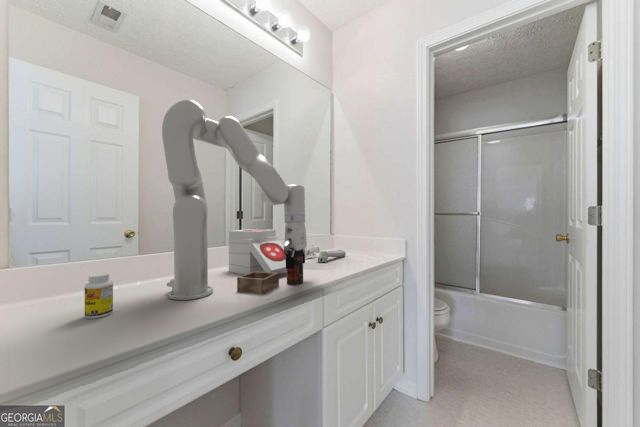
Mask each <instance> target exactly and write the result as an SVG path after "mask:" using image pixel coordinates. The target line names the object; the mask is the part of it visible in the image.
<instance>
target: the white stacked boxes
mask: <svg viewBox="0 0 640 427" xmlns="http://www.w3.org/2000/svg"><path fill="white" fill-rule="evenodd" d="M276 232H277V230H276V229H262V228H261V229H257V228H255V229H251V228H248V229H247V228H246V229H238V230H229V231H228V272H230V273H235V274H239V275H246V274H248V273H251V272H254V271H256V272H270V273H279V274H281V273H285V272H286V273H287V269H286V257H285V253H284V247H283V246H284V245H283V244H282V242H281V241H280V240H277V236H276V235H277V234H276Z"/></svg>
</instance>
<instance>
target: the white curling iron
mask: <svg viewBox="0 0 640 427" xmlns="http://www.w3.org/2000/svg"><path fill="white" fill-rule="evenodd" d="M343 257H346V251H345V250H342V249H338V250H330V251H329V250H328V251H327V250H326V251H325V250H319V253H318V256H317V257H316V258H317V262H318V263H323V262H324V263H328V259H329V258H343Z"/></svg>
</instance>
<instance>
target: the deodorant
mask: <svg viewBox="0 0 640 427" xmlns="http://www.w3.org/2000/svg"><path fill="white" fill-rule="evenodd" d="M302 243H303V242H302ZM291 244H292V243H291ZM292 249H293V248H292ZM291 253H292V252H291ZM293 257H295V268H294V269H287V271H286V285H288V286H301V285H303V284H304V264H303V249H302V250H300V251H296V250H295V253H294V256H293ZM300 284H301V285H300Z"/></svg>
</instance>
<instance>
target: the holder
mask: <svg viewBox="0 0 640 427" xmlns="http://www.w3.org/2000/svg"><path fill="white" fill-rule="evenodd" d="M279 275H280V273H270V272H256V271H254V272H251V273H248V274H246V275H244V274H242V275H241V276H237V277H236V281H237V282H236V283H237V284H236V287H237V288H236V289H237V290H236V292H240V293H249V294H250V293H251V294H259V293H262V295H265V294H267V293H269V292H271V291H273V290H275V288H278V287H280V276H279ZM270 290H271V291H270Z"/></svg>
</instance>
